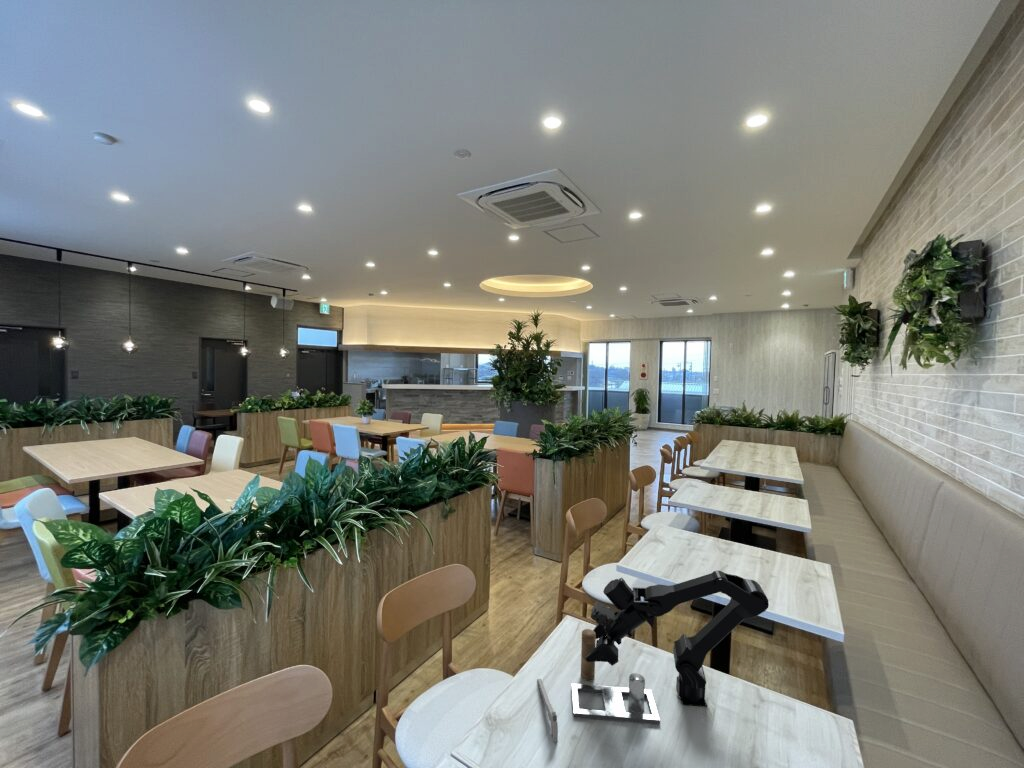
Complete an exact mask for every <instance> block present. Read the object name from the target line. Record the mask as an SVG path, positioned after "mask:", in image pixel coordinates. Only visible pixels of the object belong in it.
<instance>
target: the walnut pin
mask: <svg viewBox="0 0 1024 768" xmlns="http://www.w3.org/2000/svg"><path fill="white" fill-rule="evenodd" d="M593 630H594V629H589V628H586V629H583V630H582V631H581V648H580V649H581V650H580V651H581V654H580V656H581V657H580V677H581V679H583V680H584V681H587V682H590V681H593V680H594V679H595V676H596V674H595V673H596V672H595V671H596V670H595V668H596V662H587V661H586V659H585V658H586V656H587V655H588V654H589V653H590V652H591V651H592V650H593V649H594V648H595V647H596V641H597V639H596V633H595V632H594V631H593Z"/></svg>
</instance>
